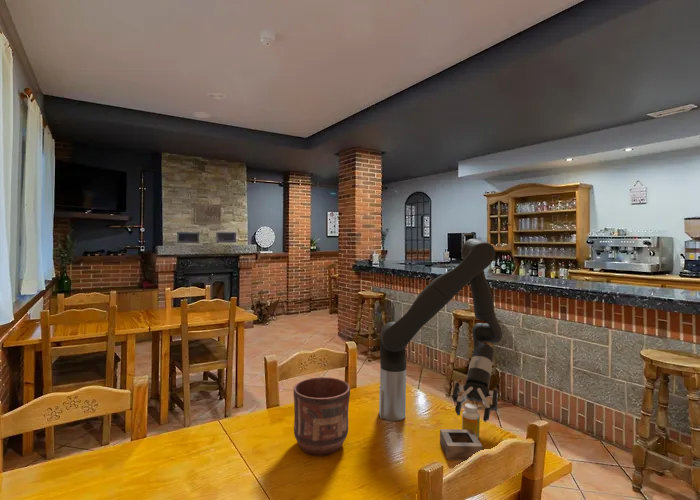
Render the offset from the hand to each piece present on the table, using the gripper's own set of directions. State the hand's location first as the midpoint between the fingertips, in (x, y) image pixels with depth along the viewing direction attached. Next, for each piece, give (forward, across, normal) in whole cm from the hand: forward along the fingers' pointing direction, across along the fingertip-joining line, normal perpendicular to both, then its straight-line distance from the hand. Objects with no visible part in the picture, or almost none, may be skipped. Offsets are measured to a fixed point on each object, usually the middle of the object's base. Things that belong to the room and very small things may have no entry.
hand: (471, 417), depth 127 cm
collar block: (+12, 0, -4) cm, 13 cm away
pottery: (+26, -38, -17) cm, 49 cm away
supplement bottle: (+4, 0, +4) cm, 6 cm away
